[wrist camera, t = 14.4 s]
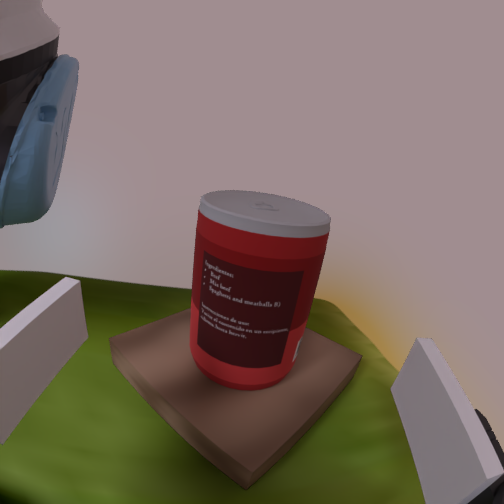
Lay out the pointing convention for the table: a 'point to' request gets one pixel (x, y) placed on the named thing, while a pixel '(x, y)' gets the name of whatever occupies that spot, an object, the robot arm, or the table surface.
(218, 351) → the canned food
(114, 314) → the table surface
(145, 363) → the walnut base
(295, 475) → the table surface
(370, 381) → the table surface
